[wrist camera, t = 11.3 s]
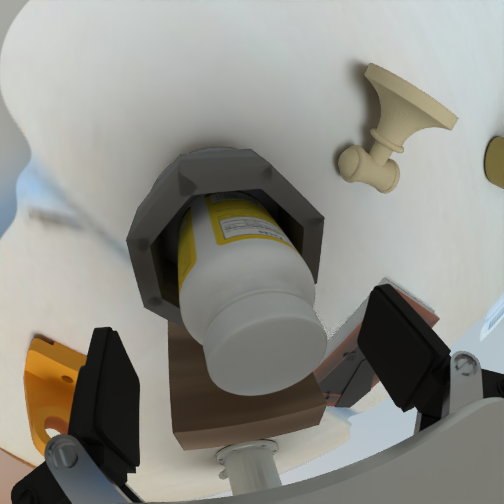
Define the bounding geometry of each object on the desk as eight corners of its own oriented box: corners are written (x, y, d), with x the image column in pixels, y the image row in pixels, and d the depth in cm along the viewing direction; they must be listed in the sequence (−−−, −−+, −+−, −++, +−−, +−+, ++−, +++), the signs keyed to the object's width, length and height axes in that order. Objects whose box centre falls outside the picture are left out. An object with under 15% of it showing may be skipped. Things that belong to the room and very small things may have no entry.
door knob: (413, 223, 22) (340, 203, 19) (375, 171, 27) (309, 149, 25) (474, 131, 15) (409, 81, 13) (419, 93, 20) (353, 54, 18)
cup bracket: (270, 310, 29) (321, 431, 17) (172, 324, 27) (181, 457, 15) (273, 134, 20) (393, 191, 9) (138, 145, 19) (69, 223, 7)
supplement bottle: (211, 283, 19) (240, 420, 10) (159, 220, 16) (143, 358, 7) (283, 239, 18) (361, 357, 10) (240, 166, 15) (314, 258, 7)
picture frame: (344, 397, 45) (431, 310, 39) (350, 407, 43) (440, 319, 36) (274, 389, 38) (381, 275, 31) (279, 402, 36) (393, 287, 29)
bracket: (117, 368, 29) (111, 461, 19) (100, 394, 31) (94, 474, 21) (35, 330, 24) (5, 420, 14) (28, 362, 26) (7, 440, 16)
